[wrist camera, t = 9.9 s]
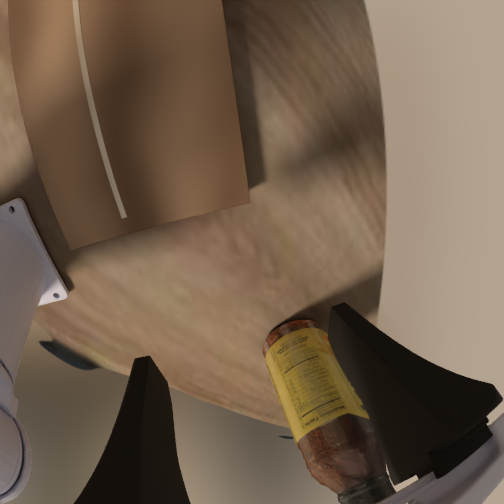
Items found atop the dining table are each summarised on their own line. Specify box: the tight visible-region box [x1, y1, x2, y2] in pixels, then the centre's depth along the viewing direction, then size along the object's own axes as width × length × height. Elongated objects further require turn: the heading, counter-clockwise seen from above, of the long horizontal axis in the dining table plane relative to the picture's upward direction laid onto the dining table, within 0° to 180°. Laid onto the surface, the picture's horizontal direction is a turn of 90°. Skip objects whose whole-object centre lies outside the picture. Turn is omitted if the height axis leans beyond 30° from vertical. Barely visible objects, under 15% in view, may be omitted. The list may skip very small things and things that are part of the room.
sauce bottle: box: [263, 319, 396, 504], centre depth 19 cm, size 6×6×20 cm
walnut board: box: [8, 0, 250, 250], centre depth 10 cm, size 11×22×2 cm, turn 7°
